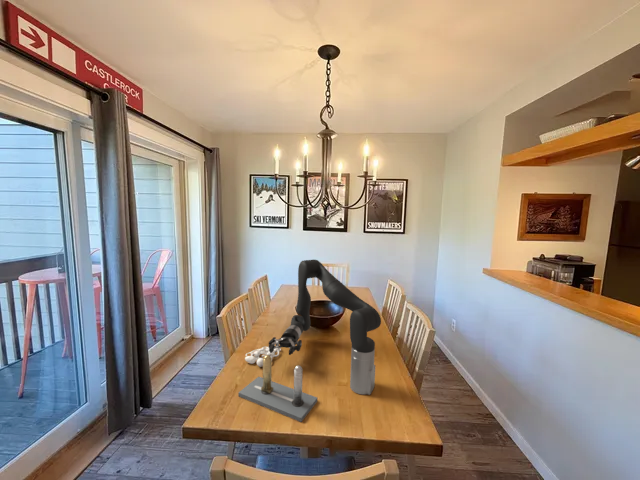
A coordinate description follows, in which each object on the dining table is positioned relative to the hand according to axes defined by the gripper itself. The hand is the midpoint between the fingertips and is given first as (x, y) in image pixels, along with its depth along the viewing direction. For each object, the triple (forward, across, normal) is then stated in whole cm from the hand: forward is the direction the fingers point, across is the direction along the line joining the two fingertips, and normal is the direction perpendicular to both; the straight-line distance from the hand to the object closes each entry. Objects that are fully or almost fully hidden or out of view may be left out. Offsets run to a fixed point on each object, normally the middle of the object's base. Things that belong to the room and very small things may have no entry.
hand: (280, 351), depth 120 cm
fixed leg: (+15, +12, +10) cm, 22 cm away
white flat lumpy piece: (-14, -14, +12) cm, 23 cm away
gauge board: (+13, +4, +12) cm, 18 cm away
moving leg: (+12, -1, +10) cm, 15 cm away
